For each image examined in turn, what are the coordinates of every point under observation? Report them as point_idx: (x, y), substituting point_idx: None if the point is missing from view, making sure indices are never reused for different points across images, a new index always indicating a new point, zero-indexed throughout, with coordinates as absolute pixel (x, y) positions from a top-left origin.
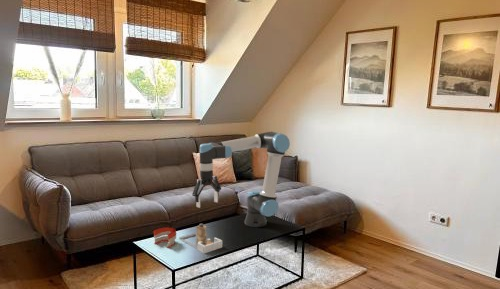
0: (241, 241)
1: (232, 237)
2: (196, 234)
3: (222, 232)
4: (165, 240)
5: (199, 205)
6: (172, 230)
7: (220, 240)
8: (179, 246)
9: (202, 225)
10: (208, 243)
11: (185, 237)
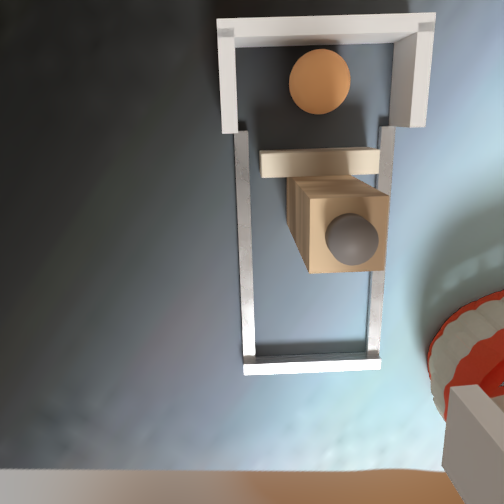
0: (6, 19)
1: (30, 147)
2: (243, 352)
3: (47, 282)
4: None
5: (498, 418)
6: None
7: (229, 34)
8: (451, 260)
9: (354, 217)
10: (343, 71)
11: (332, 356)
